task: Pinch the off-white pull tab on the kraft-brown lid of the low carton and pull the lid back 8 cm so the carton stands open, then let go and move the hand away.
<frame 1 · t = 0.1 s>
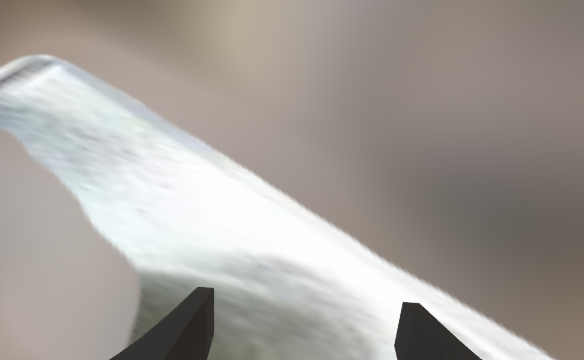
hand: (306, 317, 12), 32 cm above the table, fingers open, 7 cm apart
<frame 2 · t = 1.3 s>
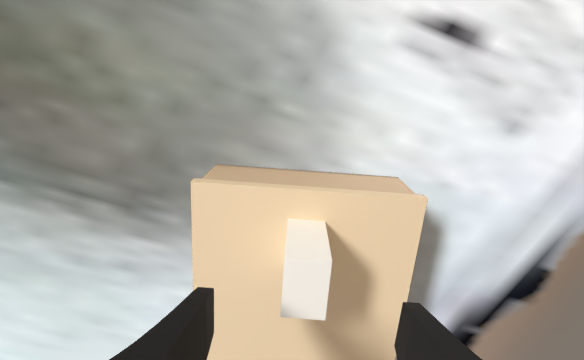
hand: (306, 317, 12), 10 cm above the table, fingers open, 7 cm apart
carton: (299, 263, 23), on the table
lid: (298, 327, 17), point 6 cm above the table, slide at 0.0 cm
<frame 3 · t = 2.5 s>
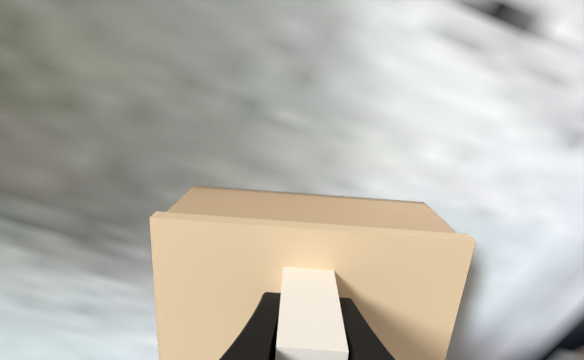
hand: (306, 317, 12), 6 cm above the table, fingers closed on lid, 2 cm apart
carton: (298, 307, 19), on the table
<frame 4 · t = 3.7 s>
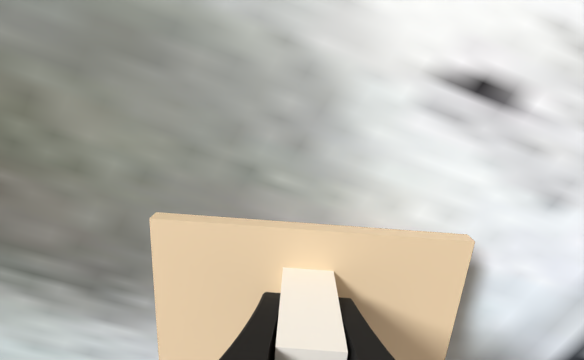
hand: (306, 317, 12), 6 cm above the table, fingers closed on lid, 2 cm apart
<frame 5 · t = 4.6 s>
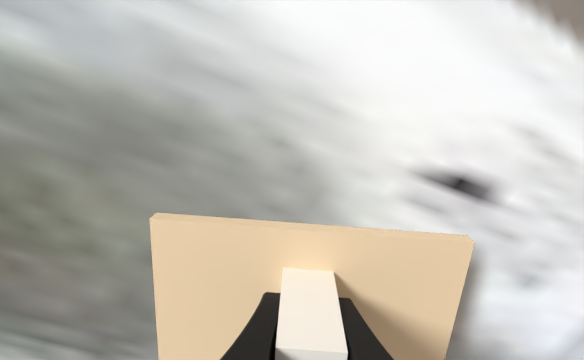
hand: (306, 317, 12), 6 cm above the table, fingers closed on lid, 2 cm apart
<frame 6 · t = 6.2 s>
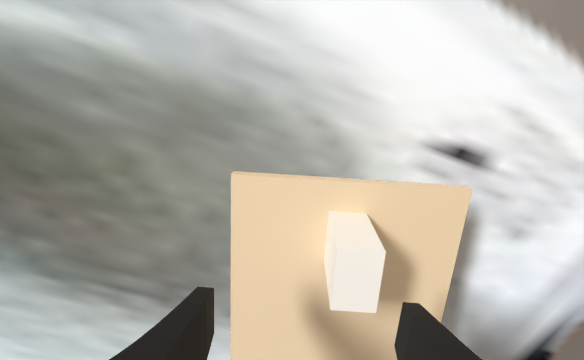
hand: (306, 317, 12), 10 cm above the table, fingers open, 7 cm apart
lid: (340, 321, 17), point 6 cm above the table, slide at 7.9 cm
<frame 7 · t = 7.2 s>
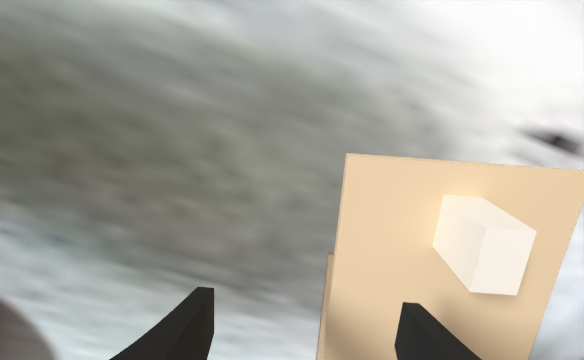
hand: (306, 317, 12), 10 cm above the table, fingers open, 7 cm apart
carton: (395, 338, 25), on the table
lid: (455, 306, 17), point 6 cm above the table, slide at 7.9 cm
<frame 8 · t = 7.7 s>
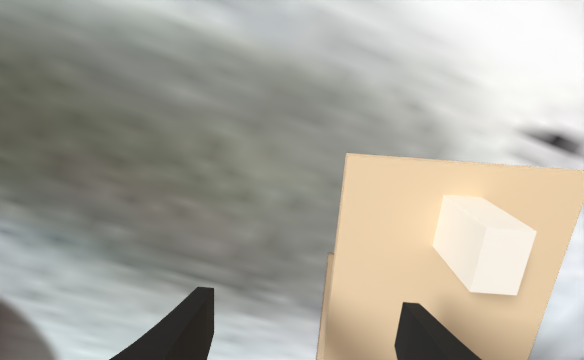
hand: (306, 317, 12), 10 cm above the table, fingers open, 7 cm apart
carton: (395, 338, 25), on the table
lid: (455, 306, 17), point 6 cm above the table, slide at 7.9 cm
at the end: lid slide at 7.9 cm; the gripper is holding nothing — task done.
